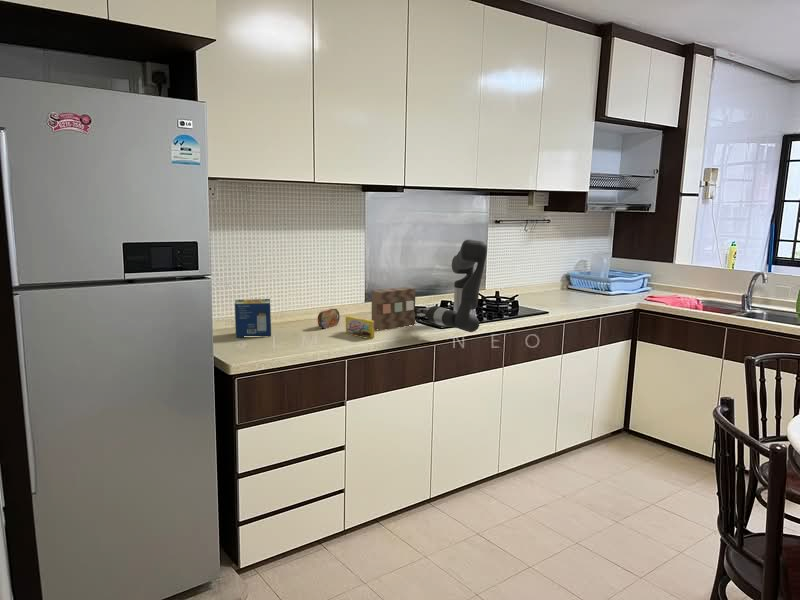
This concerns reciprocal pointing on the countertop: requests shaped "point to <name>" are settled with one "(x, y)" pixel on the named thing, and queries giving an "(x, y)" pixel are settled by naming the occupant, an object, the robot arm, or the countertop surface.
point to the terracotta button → (386, 308)
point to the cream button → (409, 305)
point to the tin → (328, 318)
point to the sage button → (397, 306)
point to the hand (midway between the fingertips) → (415, 310)
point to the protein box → (253, 317)
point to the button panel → (392, 308)
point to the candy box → (360, 327)
